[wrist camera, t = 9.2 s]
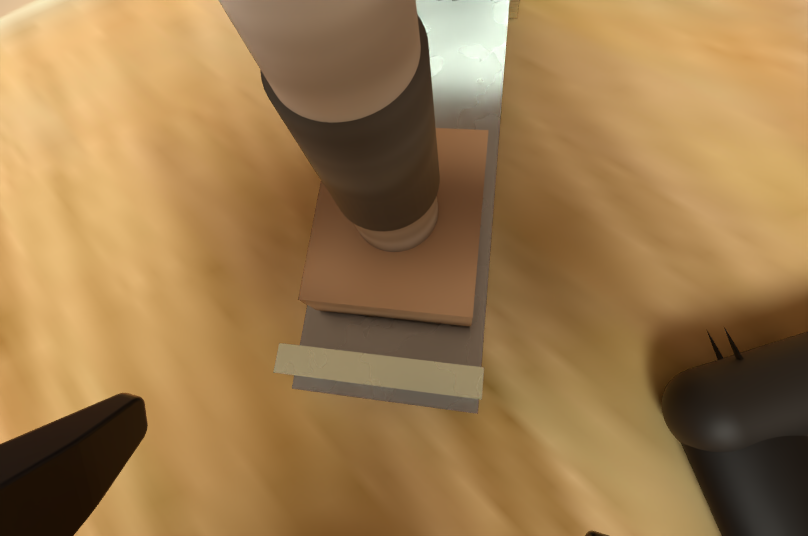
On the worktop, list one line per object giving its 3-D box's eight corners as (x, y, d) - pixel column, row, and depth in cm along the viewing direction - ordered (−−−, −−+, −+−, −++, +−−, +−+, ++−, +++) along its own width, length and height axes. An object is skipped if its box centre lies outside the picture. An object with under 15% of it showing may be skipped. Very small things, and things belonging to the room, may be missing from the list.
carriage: (471, 326, 16) (503, 152, 5) (316, 310, 17) (13, 129, 5) (485, 158, 18) (534, -273, 6) (344, 151, 19) (163, -239, 7)
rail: (489, 413, 17) (514, 428, 9) (278, 385, 18) (150, 378, 11) (520, -33, 23) (551, -248, 15) (359, -31, 24) (313, -228, 16)
